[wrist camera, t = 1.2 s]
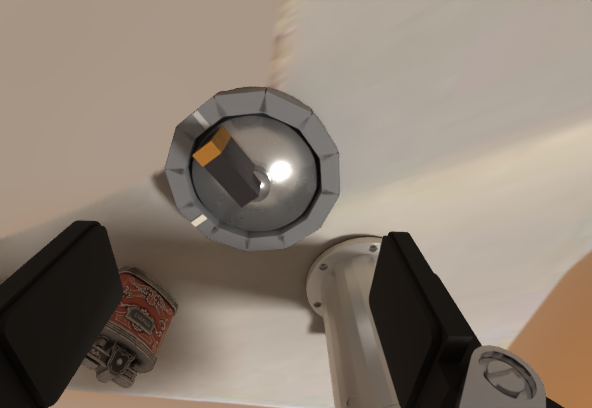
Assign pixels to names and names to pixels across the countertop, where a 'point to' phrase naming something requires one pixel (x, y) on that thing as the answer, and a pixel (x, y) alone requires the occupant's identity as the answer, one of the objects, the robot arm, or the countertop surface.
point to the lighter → (132, 330)
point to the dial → (255, 172)
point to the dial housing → (240, 104)
